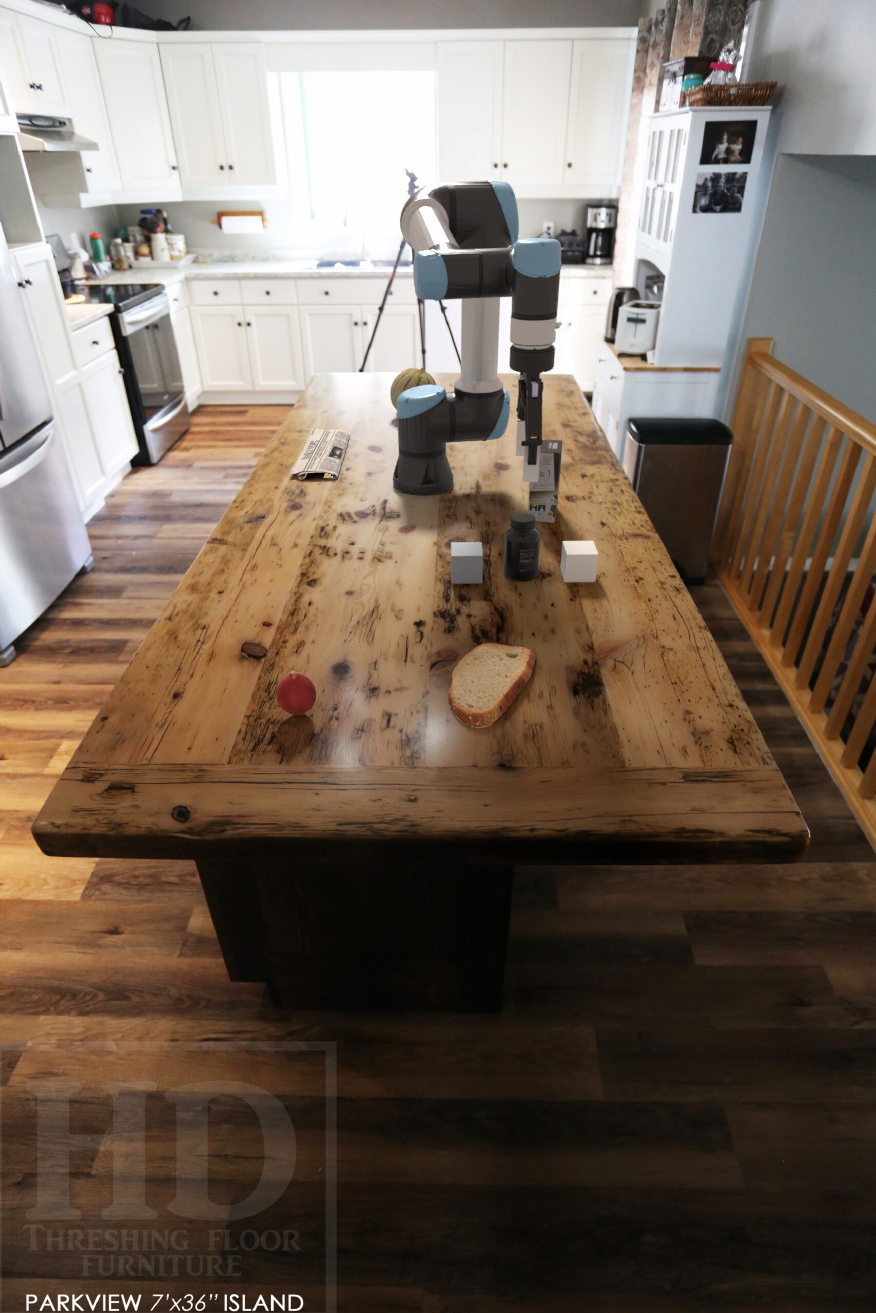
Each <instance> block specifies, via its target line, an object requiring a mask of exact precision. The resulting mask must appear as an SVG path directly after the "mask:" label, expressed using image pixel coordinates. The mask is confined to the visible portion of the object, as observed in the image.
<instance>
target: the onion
mask: <svg viewBox="0 0 876 1313" xmlns="http://www.w3.org/2000/svg"><path fill="white" fill-rule="evenodd" d="M316 700H317V688H316V687H315V684H314V683H313V681H312V680H311V679H310V678H309V677H308V676H306V675H304V674H303V673H299V672H297V671H290V672H289V674H288V675H286V676H285V677H283V678H282V679H281V681H280V683H279V684H278V686H277V689H276V702H277V704H278V705H279V707H280V709H281V710H282V711H284V712H286V713H288V714H290V715H293V716H296V717H299V716H300V717H301V716H303V715H304V714H306V713H307V712H308V711H309V710H311V709H312V707H314V706H315V704H316Z"/></svg>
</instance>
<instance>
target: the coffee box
mask: <svg viewBox="0 0 876 1313" xmlns="http://www.w3.org/2000/svg"><path fill="white" fill-rule="evenodd" d="M542 440H543V443H542V445H540V459H539V476H538V482H529V487H528V488H529V490H528V509H527V513H528V514H532V515H534V516H535V518H536V522H540V523H543V522H544V523H549V524H550V523H551V524H553V523H555V521H556V516H557V511H558V506H559V505H558V504H559V503H558V502H559V494H560V493H559V492H560V480H561V466H562V454H563V453H562V452H563V440H562V439H561V440H559V439H542Z"/></svg>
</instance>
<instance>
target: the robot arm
mask: <svg viewBox="0 0 876 1313" xmlns="http://www.w3.org/2000/svg"><path fill="white" fill-rule="evenodd" d="M519 220H520V219H519V210H518V203H517V199H516V194H515V191H514V189H513V187H512V185H511V184H510V183H509V182H506V181H503V180H502V181H499V180H491V179H488V180H487V179H485V180H470V181H469V180H468V181H465V180H464V181H438V182H433V183H430V184H427V185H425V186H423V187H422V188H420V189H418V190H417V191H415V192H414V193H413V194H412V195H411V196H410V197H409V198H408V199H407V200H406V202H405V203H404V205H403V207H402V209H401V212H400V218H399V226H400V232H401V235H402V237H403V239H404V242H406V244H407V245H408V246H409V247H410V248H411V249H413V250H414V252H415V254H414V257H413V275H412V276H413V284H414V285H413V286H414V292H415V296H416V297H417V298H418V299H419V300H424V301H429V300H432V301H434V302H438V301H444V300H445V301H446V300H447V301H448V300H458V299H459V300H461V306H460V307H461V320H460V322H461V325H460V326H461V327H460V333H461V334H460V337H461V338H460V376H459V377H458V379H456V380H455V382H454V385H453V391H447V389H446V388H445V387H444V385H440V384H437V385H422V386H417V387H413V388H410V389H408V390H406V391H404V392H402V393H401V394H400V395H399V397H398V399H397V410H396V414H395V415H396V418H397V437H398V438H397V440H398V442H397V444H398V457H397V461H396V464H395V467H394V472H393V475H392V483H393V484H392V485H393V486H392V487H394V489H396V490H397V491H398V492H400V493H403V494H407V495H413V496H414V495H415V496H429V495H431V496H432V495H436V494H441V493H444V492H446V491H448V490H450V489H451V488H453V485H454V474H453V472H452V471H453V470H452V468H451V465H450V461H449V458H448V456H447V447H446V446H447V444H448V443H461V442H462V443H463V442H486V441H491V440H498V439H500V438H502V437H503V436H504V434H505V432H506V430H507V427H508V424H509V420H510V415H511V414H510V412H511V411H510V410H511V406H510V404H511V396H510V393H509V391H508V390H507V389H505V388H504V382H503V381H502V380H501V379H500V378H499V377H498V364H499V362H498V361H499V342H500V341H499V337H500V335H499V334H500V313H501V298H511V315H510V330H509V331H510V332H509V334H510V335H509V341H510V343H511V346H510V347H509V368H510V369H511V370H512V371H514V372H517V373H519V378H518V380H517V383H518V384H517V386H518V389H517V390H518V395H517V405H516V413H517V414H516V417H517V421H516V422H517V424H516V442H515V443H516V445H515V448H516V449H515V456H516V457H523V459H522V461H523V462H522V475H521V476H522V477H521V478H522V483H530V482H538V476H539V459H540V445H542V443H543V440H544V439H543V392H544V381H543V379H542V378H541V374H542V373H547V372H550V371H551V370H553V369H554V368H555V358H556V357H555V354H556V347H555V346H554V345H553V344H554V343H555V342H556V335H557V331H556V329H557V330H558V329H560V327H561V323H560V322H558V321H557V317H558V307H559V293H560V280H561V269H562V266H563V264H562V263H563V262H562V246H561V242H560V241H559V240H557V239H555V238H545V237H530V238H521V239H519V233H520V223H519ZM518 239H519V240H518Z"/></svg>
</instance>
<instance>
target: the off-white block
mask: <svg viewBox="0 0 876 1313" xmlns="http://www.w3.org/2000/svg"><path fill="white" fill-rule="evenodd" d="M561 545H562V546H561V547H562V548H561V558H560V568H559V569H560V572H561V575H562V578H563V583H596V579H597V573H598V572H597V571H598V561H599V552H598V550H597V547H596V543H595V541H594V540H563V541H562V544H561Z"/></svg>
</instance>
